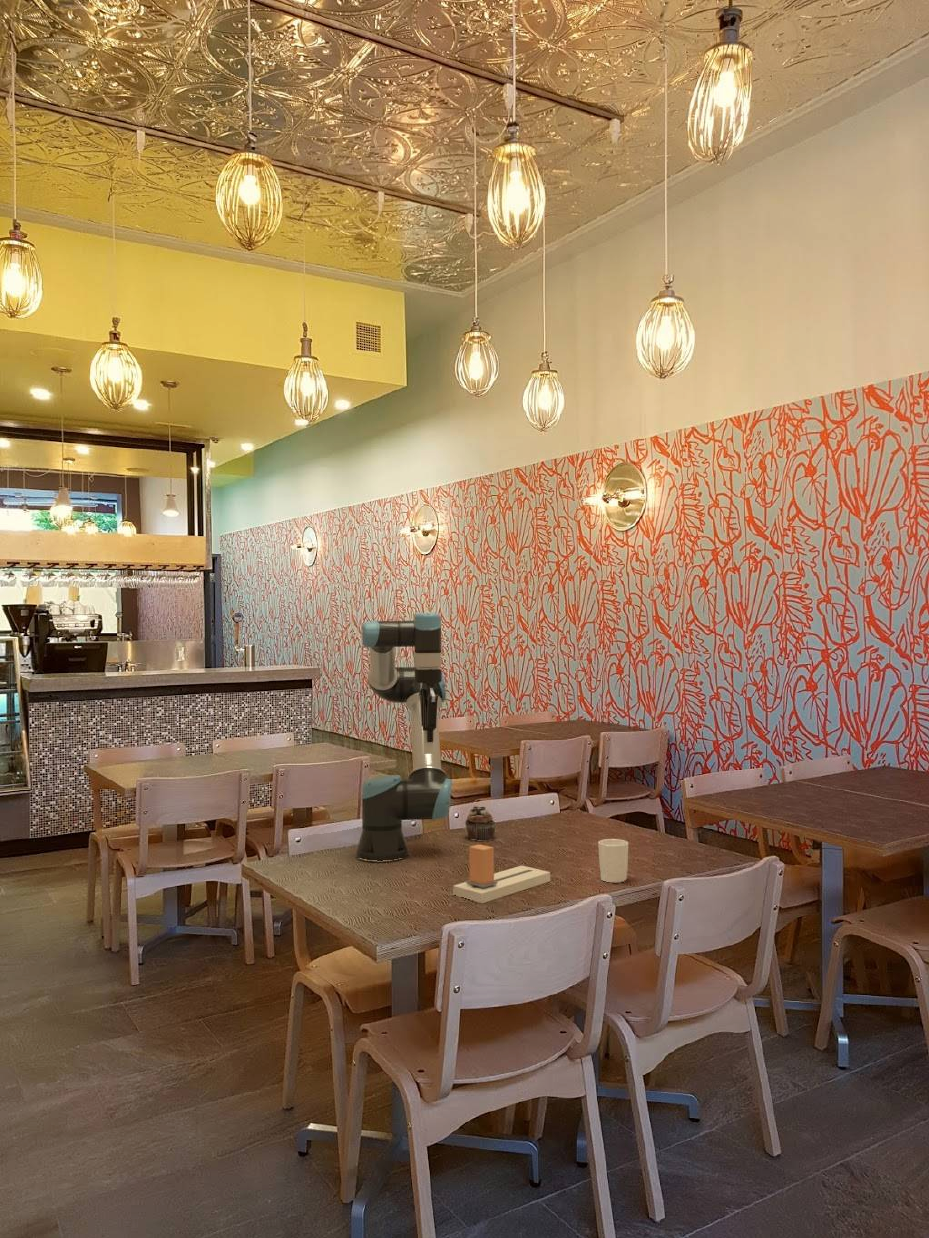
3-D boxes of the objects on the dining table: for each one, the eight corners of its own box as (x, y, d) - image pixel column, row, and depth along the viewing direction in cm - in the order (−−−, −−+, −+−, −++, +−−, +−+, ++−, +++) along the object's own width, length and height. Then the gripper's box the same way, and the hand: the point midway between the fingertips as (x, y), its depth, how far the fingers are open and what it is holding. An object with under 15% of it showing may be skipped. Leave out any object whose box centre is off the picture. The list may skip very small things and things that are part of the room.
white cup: (610, 886, 232) (610, 847, 232) (592, 878, 239) (592, 841, 239) (635, 881, 236) (634, 843, 236) (616, 874, 243) (616, 837, 243)
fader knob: (480, 879, 230) (479, 843, 230) (497, 883, 226) (496, 847, 226) (466, 883, 226) (465, 846, 226) (483, 887, 222) (483, 850, 222)
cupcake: (496, 841, 282) (495, 809, 282) (465, 842, 282) (465, 810, 282) (495, 834, 292) (495, 803, 292) (465, 835, 292) (465, 804, 292)
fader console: (521, 874, 244) (521, 865, 244) (550, 881, 237) (550, 871, 237) (453, 895, 226) (453, 885, 226) (482, 903, 219) (481, 892, 219)
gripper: (446, 668, 244) (448, 756, 244) (435, 667, 257) (436, 750, 257) (419, 669, 242) (421, 757, 242) (410, 667, 255) (411, 751, 255)
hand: (429, 753), depth 249 cm, fingers closed
